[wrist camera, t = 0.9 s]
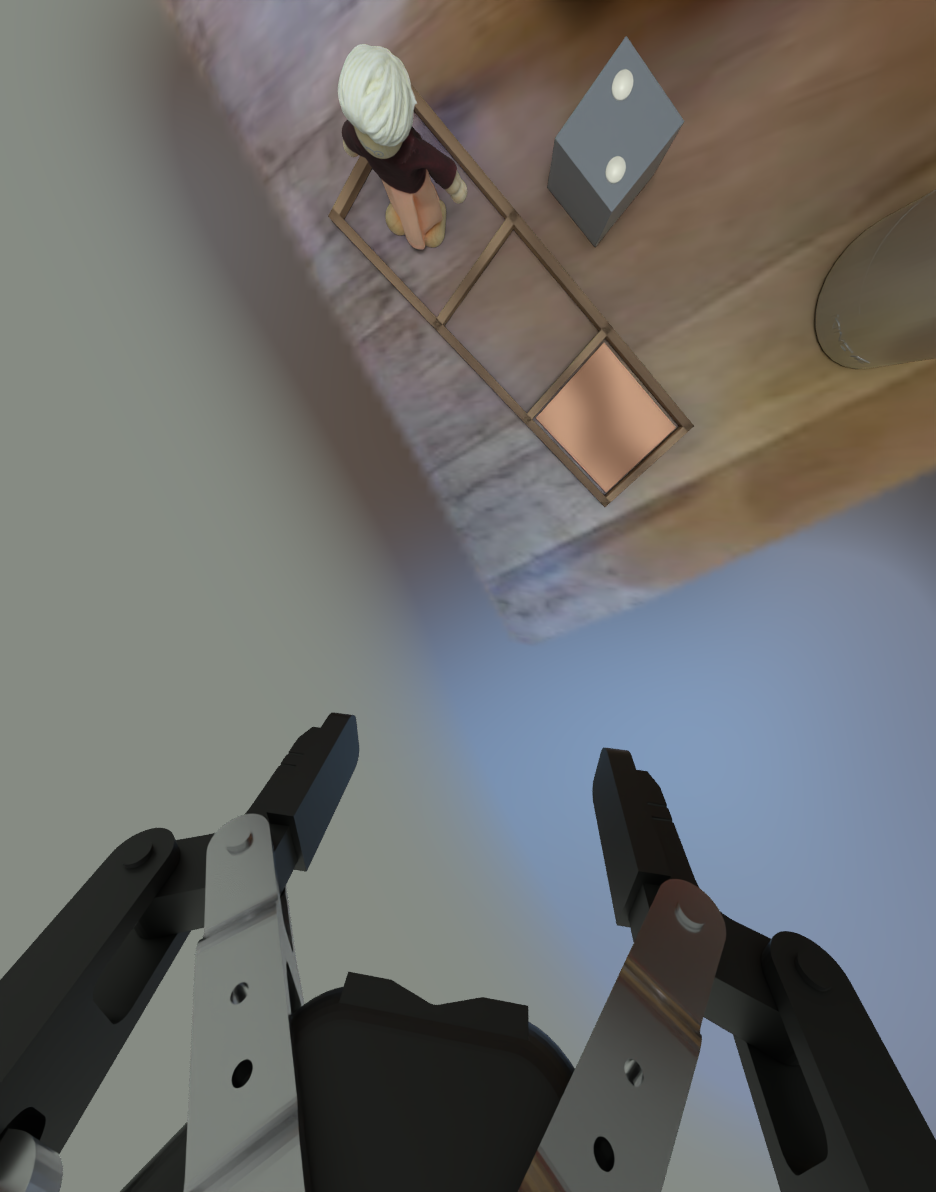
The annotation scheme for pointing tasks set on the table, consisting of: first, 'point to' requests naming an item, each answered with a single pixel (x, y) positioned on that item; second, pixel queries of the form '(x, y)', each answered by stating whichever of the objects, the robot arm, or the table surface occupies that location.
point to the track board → (596, 392)
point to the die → (612, 143)
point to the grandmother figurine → (395, 144)
